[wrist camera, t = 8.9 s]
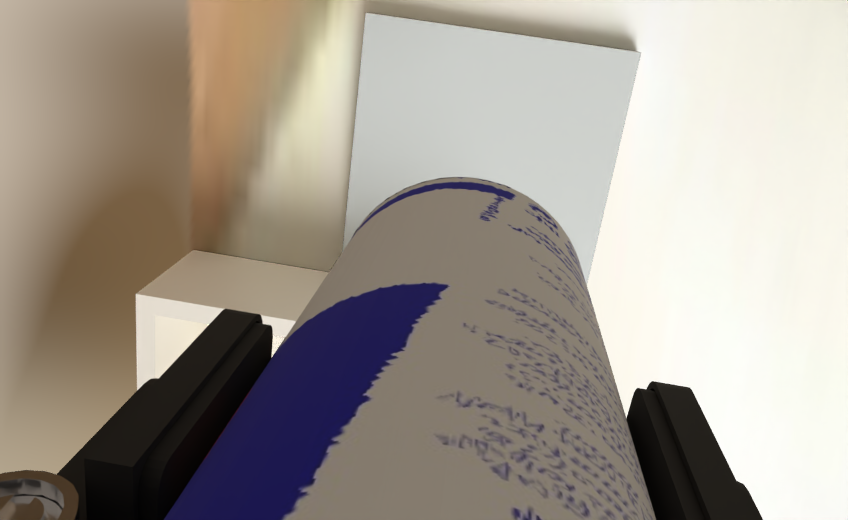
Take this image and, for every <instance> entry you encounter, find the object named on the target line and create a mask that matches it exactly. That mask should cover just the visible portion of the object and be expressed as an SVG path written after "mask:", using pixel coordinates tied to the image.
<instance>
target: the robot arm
mask: <svg viewBox="0 0 848 520" xmlns="http://www.w3.org/2000/svg"><path fill="white" fill-rule="evenodd" d="M272 338H273V330H272V326H271V325H266V324H263V321H262V317H261V315H260V314H255V313H249V312H243V311H237V310H231V309H224V310H222V311H221V312H220V314H219V315H218V316H217V317H216V318H215V319H214V320H213V321H212V322H211V323H210V324H209V325H208V326H207V327H206V328H205V330H204V331H203V332H202V333H201V334H200V335H199V336H198V337H197V338H196V339H195V340H194V341H193V342H192V343H191V344H190V346H189V347H188V348H187V349H186V350H185V351H184V352H183V353H182V354H181V355H180V356H179V357H178V358H177V359H176V360H175V362H174V363H173V364H172V365H171V366H170V367H169V368H168V369H167V370H166V371H165V372H164V373H163V374H162V375H161V376H160V378H159V379H158V378H153V379H150V380H148V381H147V382H146V383H144V384H143V385H142V386H141V387H140V388H139V389H138V390H137V392H136V393H135V394H134V395H133V396H132V397H131V398H130V399H129V400H128V401H127V402H126V403H125V404H124V405H123V406H122V407H121V408H120V409H119V410H118V411H117V412H116V413H115V414H114V416H112V418H110V420H109V421H108V422H107V423H106V424H105V425H104V426H103V427H102V428H101V429H100V430H99V431H98V432H97V433H96V434H95V435H94V436H93V437H92V438H91V439H90V440H89V441H88V442H87V443H86V444H85V445H84V447H83V448H82V449H81V450H80V451H79V452H78V453H77V454H76V455H75V456H74V457H73V458H72V459H71V460H70V461H69V462H68V463H67V464H66V465H65V466H64V467H63V468H62V469H61V470H60V471H59V473H58V474H57V475H56V474H53V473H49V472H45V471H31V470H23V471H15V472H7V473H2V474H0V520H164V519H165V517H166V516H167V514H168V513H169V511H170V510H171V508H172V507H173V505H174V504H175V502H176V501H177V499H178V498H179V496H180V495H181V493H182V492H183V490H184V489H185V487H186V486H187V484H188V483H189V481H190V480H191V478H192V477H193V475H194V474H195V472H196V471H197V469H198V468H199V466H200V465H201V463H202V462H203V460H204V459H205V457H206V456H207V454H208V453H209V451H210V450H211V448H212V447H213V445H214V444H215V442H216V441H217V439H218V438H219V436H220V435H221V433H222V432H223V430H224V429H225V427H226V426H227V424H228V423H229V421H230V420H231V418H232V417H233V415H234V414H235V412H236V411H237V409H238V408H239V406H240V405H241V403H242V402H243V400H244V399H245V397H246V396H247V394H248V393H249V391H250V390H251V388H252V387H253V385H254V384H255V382H256V381H257V379H258V378H259V376H260V375H261V373H262V372H263V370H264V369H265V367H266V366H267V364H268V363H269V361H270V360H271V354H272ZM626 420H627V423H628V426H629V430H630V433H631V437H632V440H633V443H634V447H635V450H636V453H637V457H638V460H639V464H640V467H641V470H642V474H643V477H644V480H645V484H646V487H647V490H648V494H649V497H650V501H651V504H652V507H653V511H654V514H655V517H656V520H763V519H762V517H761V515H760V513H759V511H758V509H757V507H756V505H755V503H754V501H753V499H752V497H751V495H750V493H749V491H748V490H747V488H746V487H745V486H744V484H742V483H740V482H738V481H736V479H735V477H734V475H733V473H732V471H731V469H730V467H729V465H728V463H727V461H726V459H725V457H724V455H723V453H722V451H721V449H720V447H719V445H718V443H717V441H716V439H715V436H714V434H713V432H712V430H711V428H710V426H709V424H708V422H707V420H706V418H705V416H704V414H703V412H702V410H701V408H700V406H699V404H698V402H697V400H696V398H695V396H694V394H693V392H692V390H691V389H690V388H688V387H683V386H677V385H671V384H665V383H659V382H653V381H652V382H651V383H650V384H649V385H648V387H647V389H640V388H637V389H636V390H635V392H634V395H633V398H632V401H631V405H630V408H629V412H628V416H627V419H626Z"/></svg>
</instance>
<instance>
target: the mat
mask: <svg viewBox="0 0 848 520" xmlns="http://www.w3.org/2000/svg"><path fill="white" fill-rule="evenodd" d="M640 55H641V52H638V51H631V50H624V49H617V48H610V47H603V46H596V45H589V44H582V43H575V42H568V41H561V40H554V39H547V38H540V37H534V36H527V35H520V34H513V33H506V32H499V31H492V30H485V29H478V28H471V27H464V26H457V25H450V24H443V23H436V22H429V21H423V20H416V19H409V18H402V17H395V16H388V15H381V14H374V13H366V15H365V26H364V36H363V46H362V56H361V66H360V77H359V87H358V97H357V107H356V118H355V128H354V138H353V148H352V158H351V169H350V179H349V189H348V199H347V209H346V220H345V230H344V240H343V250H342V252H343V251H344V249H345V248H346V246H347V245H348V243H349V242H350V240H351V238H352V237H353V235H354V233H355V231H356V230H357V228H358V227H359V226H360V224H361V223H362V222H363V220H364V219H365V218H366V217H367V216H368V215H369V214H370V213H371V212H372V211H373V210H374V209H375V208H376V207H377V206H378V205H379V204H381V203H382V202H383V201H384V200H386V199H387V198H388V197H390V196H392V195H394V194H396V193H397V192H399V191H401V190H403V189H404V188H407V187H410V186H412V185H415V184H418V183H421V182H424V181H428V180H433V179H438V178H448V177H472V178H478V179H484V180H489V181H492V182H496V183H499V184H502V185H506V186H508V187H510V188H512V189H514V190H516V191H518V192H520V193H522V194H524V195H526V196H528V197H529V198H531V199H532V200H534V201H535V202H536V203H538V204H539V205H541V206H542V207H543V208H544V209H545V210H546V211H547V212H549V213H550V214H551V216H552V217H553V218H554V219H555V220H556V221H557V222H558V223H559V224H560V226H561V227H562V229H563V230H564V232H565V233H566V234H567V236H568V237H569V239H570V241H571V243H572V245H573V247H574V249H575V251H576V253H577V256H578V259H579V262H580V265H581V268H582V272H583V275H584V278H585V282H586V285H587V282H588V278H589V274H590V269H591V265H592V261H593V257H594V252H595V248H596V244H597V239H598V235H599V231H600V227H601V222H602V218H603V214H604V209H605V205H606V201H607V197H608V192H609V188H610V184H611V180H612V175H613V171H614V167H615V162H616V158H617V154H618V150H619V145H620V141H621V137H622V132H623V128H624V124H625V120H626V115H627V111H628V107H629V102H630V98H631V94H632V90H633V85H634V81H635V77H636V72H637V68H638V64H639V60H640Z"/></svg>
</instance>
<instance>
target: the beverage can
mask: <svg viewBox="0 0 848 520" xmlns="http://www.w3.org/2000/svg"><path fill="white" fill-rule="evenodd" d="M164 520H656V517H655V514H654V511H653V507H652V504H651V501H650V497H649V494H648V490H647V487H646V484H645V480H644V477H643V474H642V470H641V467H640V464H639V460H638V457H637V453H636V450H635V447H634V443H633V440H632V437H631V433H630V430H629V426H628V423H627V420H626V416H625V413H624V410H623V406H622V403H621V400H620V396H619V393H618V389H617V386H616V383H615V379H614V376H613V373H612V369H611V366H610V363H609V359H608V356H607V352H606V349H605V346H604V342H603V339H602V336H601V332H600V329H599V326H598V322H597V319H596V315H595V312H594V309H593V305H592V302H591V299H590V295H589V292H588V289H587V285H586V282H585V278H584V275H583V272H582V268H581V265H580V262H579V259H578V256H577V253H576V251H575V249H574V247H573V245H572V243H571V241H570V239H569V237H568V236H567V234H566V233H565V232H564V230H563V229H562V227H561V226H560V224H559V223H558V222H557V221H556V220H555V219H554V218H553V217H552V216H551V214H550V213H549V212H547V211H546V210H545V209H544V208H543V207H542V206H541V205H539V204H538V203H536V202H535V201H534V200H532V199H531V198H529V197H528V196H526V195H524V194H522V193H520V192H518V191H516V190H514V189H512V188H510V187H508V186H506V185H502V184H499V183H496V182H492V181H489V180H484V179H478V178H472V177H448V178H438V179H433V180H428V181H424V182H421V183H418V184H415V185H412V186H410V187H407V188H404V189H403V190H401V191H399V192H397V193H396V194H394V195H392V196H390V197H388V198H387V199H386V200H384V201H383V202H382V203H381V204H379V205H378V206H377V207H376V208H375V209H374V210H373V211H372V212H371V213H370V214H369V215H368V216H367V217H366V218H365V219H364V220H363V222H362V223H361V224H360V226H359V227H358V228H357V230H356V231H355V233H354V235H353V237H352V238H351V240H350V242H349V243H348V245H347V246H346V248H345V249H344V251H343V252H342V253H341V255H340V256H339V258H338V259H337V261H336V262H335V264H334V265H333V267H332V268H331V270H330V271H329V273H328V274H327V276H326V277H325V279H324V280H323V282H322V283H321V285H320V286H319V288H318V289H317V291H316V292H315V294H314V295H313V297H312V298H311V300H310V301H309V303H308V304H307V306H306V307H305V309H304V310H303V312H302V313H301V315H300V316H299V318H298V319H297V321H296V322H295V324H294V325H293V327H292V328H291V330H290V331H289V333H288V334H287V336H286V337H285V339H284V340H283V342H282V343H281V345H280V346H279V348H278V349H277V351H276V352H275V354H274V355H273V357H272V358H271V360H270V361H269V363H268V364H267V366H266V367H265V369H264V370H263V372H262V373H261V375H260V376H259V378H258V379H257V381H256V382H255V384H254V385H253V387H252V388H251V390H250V391H249V393H248V394H247V396H246V397H245V399H244V400H243V402H242V403H241V405H240V406H239V408H238V409H237V411H236V412H235V414H234V415H233V417H232V418H231V420H230V421H229V423H228V424H227V426H226V427H225V429H224V430H223V432H222V433H221V435H220V436H219V438H218V439H217V441H216V442H215V444H214V445H213V447H212V448H211V450H210V451H209V453H208V454H207V456H206V457H205V459H204V460H203V462H202V463H201V465H200V466H199V468H198V469H197V471H196V472H195V474H194V475H193V477H192V478H191V480H190V481H189V483H188V484H187V486H186V487H185V489H184V490H183V492H182V493H181V495H180V496H179V498H178V499H177V501H176V502H175V504H174V505H173V507H172V508H171V510H170V511H169V513H168V514H167V516H166V517H165V519H164Z"/></svg>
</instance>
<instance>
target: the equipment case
mask: <svg viewBox="0 0 848 520" xmlns="http://www.w3.org/2000/svg"><path fill="white" fill-rule="evenodd" d="M328 273H329V272H324V271H318V270H312V269H306V268H300V267H294V266H288V265H282V264H276V263H270V262H264V261H258V260H252V259H246V258H240V257H234V256H228V255H222V254H216V253H210V252H203V251H197V250H192V251H191V252H190V253H188V254H187V255H186V256H184V257H183V258H182V259H180V260H179V261H178V262H177V263H175V264H174V265H173V266H171V267H170V268H169V269H168V270H166V271H165V272H164V273H162V274H161V275H160V276H158V277H157V278H156V279H154V280H153V281H152V282H151V283H149V284H148V285H147V286H145V287H144V288H143V289H141V290H140V291H139V292H138V293H136V344H137V345H136V350H137V390H138V389H139V388H140V387H141V386H142V385H143V384H144V383H146V382H147V381H148V380H150V379H153V378H158V379H159V378H160V376H161V375H162V374H163V373H164V372H165V371H166V370H167V369H168V368H169V367H170V366H171V365H172V364H173V363H174V362H175V360H176V359H177V358H178V357H179V356H180V355H181V354H182V353H183V352H184V351H185V350H186V349H187V348H188V347H189V346H190V344H191V343H192V342H193V341H194V340H195V339H196V338H197V337H198V336H199V335H200V334H201V333H202V332H203V331H204V330H205V328H206V327H207V325H208V324H210V323H211V322H212V321H213V320H214V319H215V318H216V317H217V316H218V315H219V314H220V312H221V311H222V310H224V309H231V310H237V311H243V312H249V313H255V314H260V315H261V317H262V321H263V324H266V325H271V326H272V330H273V335H274V336H280V337H286V336H287V334H288V333H289V331H290V330H291V328H292V327H293V325H294V324H295V322H296V321H297V319H298V318H299V316H300V315H301V313H302V312H303V310H304V309H305V307H306V306H307V304H308V303H309V301H310V300H311V298H312V297H313V295H314V294H315V292H316V291H317V289H318V288H319V286H320V285H321V283H322V282H323V280H324V279H325V277H326V276H327V274H328Z"/></svg>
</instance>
